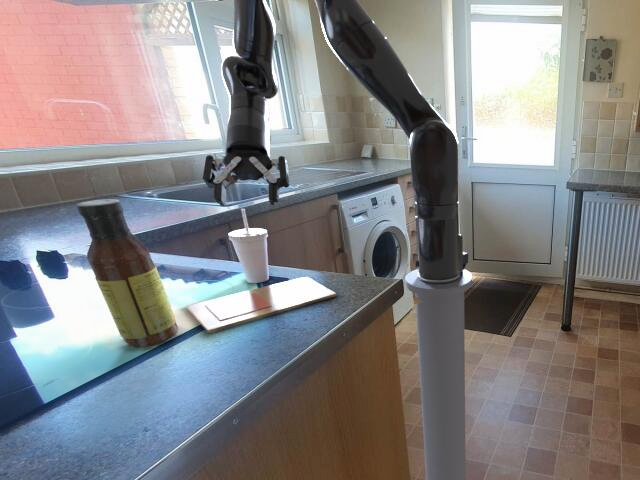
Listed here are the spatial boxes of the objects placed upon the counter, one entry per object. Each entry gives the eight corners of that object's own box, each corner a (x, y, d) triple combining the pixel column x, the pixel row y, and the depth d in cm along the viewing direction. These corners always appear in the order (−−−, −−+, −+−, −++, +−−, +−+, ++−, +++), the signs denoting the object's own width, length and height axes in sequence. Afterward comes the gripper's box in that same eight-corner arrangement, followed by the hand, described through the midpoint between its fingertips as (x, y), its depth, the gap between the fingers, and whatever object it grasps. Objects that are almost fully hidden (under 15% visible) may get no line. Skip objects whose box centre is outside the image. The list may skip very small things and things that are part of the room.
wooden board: (307, 278, 82) (306, 275, 82) (337, 296, 75) (336, 292, 75) (186, 309, 68) (185, 305, 68) (208, 333, 61) (207, 329, 61)
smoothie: (274, 272, 85) (261, 204, 80) (278, 282, 80) (264, 211, 75) (238, 277, 82) (221, 207, 76) (240, 288, 77) (222, 214, 71)
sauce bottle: (179, 324, 63) (139, 195, 56) (179, 341, 59) (135, 203, 51) (123, 335, 60) (72, 199, 52) (118, 354, 55) (61, 208, 47)
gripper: (200, 122, 79) (194, 192, 73) (283, 124, 83) (283, 191, 77) (215, 148, 85) (211, 215, 80) (291, 149, 90) (292, 212, 84)
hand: (247, 203), depth 78 cm, fingers open, 8 cm apart
